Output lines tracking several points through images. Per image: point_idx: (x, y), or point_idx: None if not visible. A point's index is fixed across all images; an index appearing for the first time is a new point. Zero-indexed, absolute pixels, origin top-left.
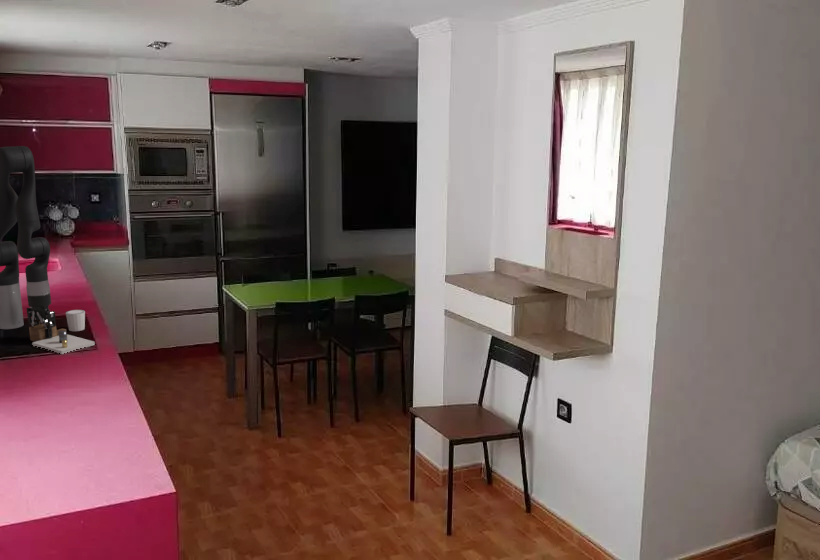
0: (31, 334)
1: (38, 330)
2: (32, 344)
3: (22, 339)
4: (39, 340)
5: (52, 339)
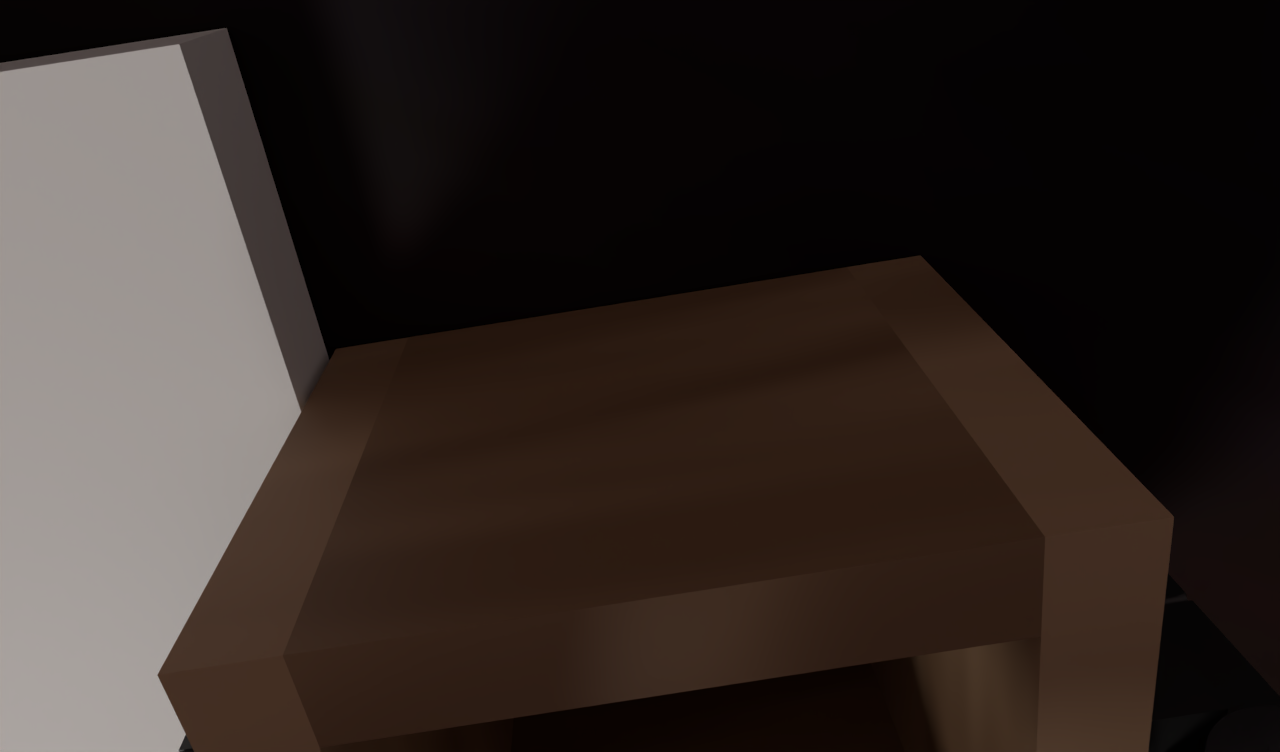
0: (887, 365)
1: (303, 621)
2: (202, 35)
3: (1251, 123)
4: (395, 373)
5: (149, 657)
